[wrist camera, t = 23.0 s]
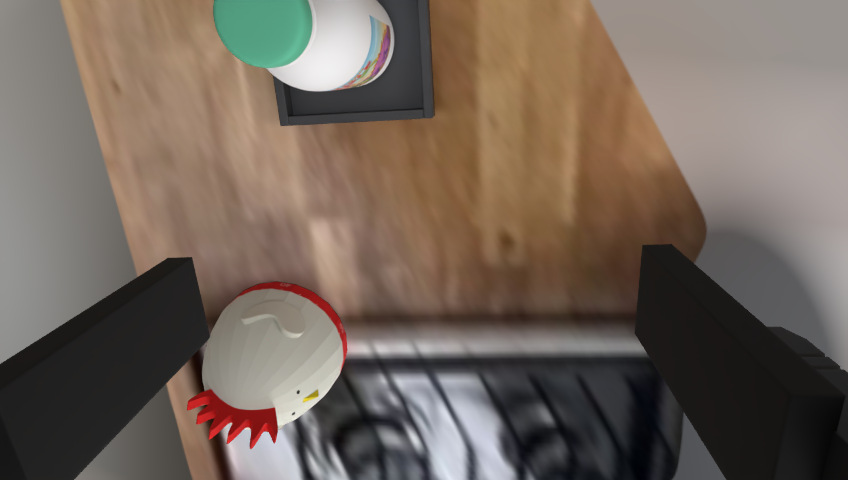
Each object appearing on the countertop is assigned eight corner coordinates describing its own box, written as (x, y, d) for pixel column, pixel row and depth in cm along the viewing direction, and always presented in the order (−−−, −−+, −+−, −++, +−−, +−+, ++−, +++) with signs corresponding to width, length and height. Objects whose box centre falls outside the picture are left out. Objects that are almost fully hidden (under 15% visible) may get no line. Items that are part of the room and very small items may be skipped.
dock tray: (426, -56, 40) (423, -63, 38) (434, 115, 45) (433, 118, 42) (265, -42, 41) (254, -48, 39) (289, 123, 46) (280, 126, 44)
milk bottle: (289, 22, 42) (145, -15, 23) (364, -30, 40) (273, -116, 22) (338, 103, 44) (241, 129, 25) (412, 57, 42) (367, 47, 23)
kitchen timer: (332, 407, 56) (286, 522, 42) (215, 374, 56) (130, 478, 42) (359, 302, 51) (318, 391, 37) (231, 266, 51) (142, 341, 37)
